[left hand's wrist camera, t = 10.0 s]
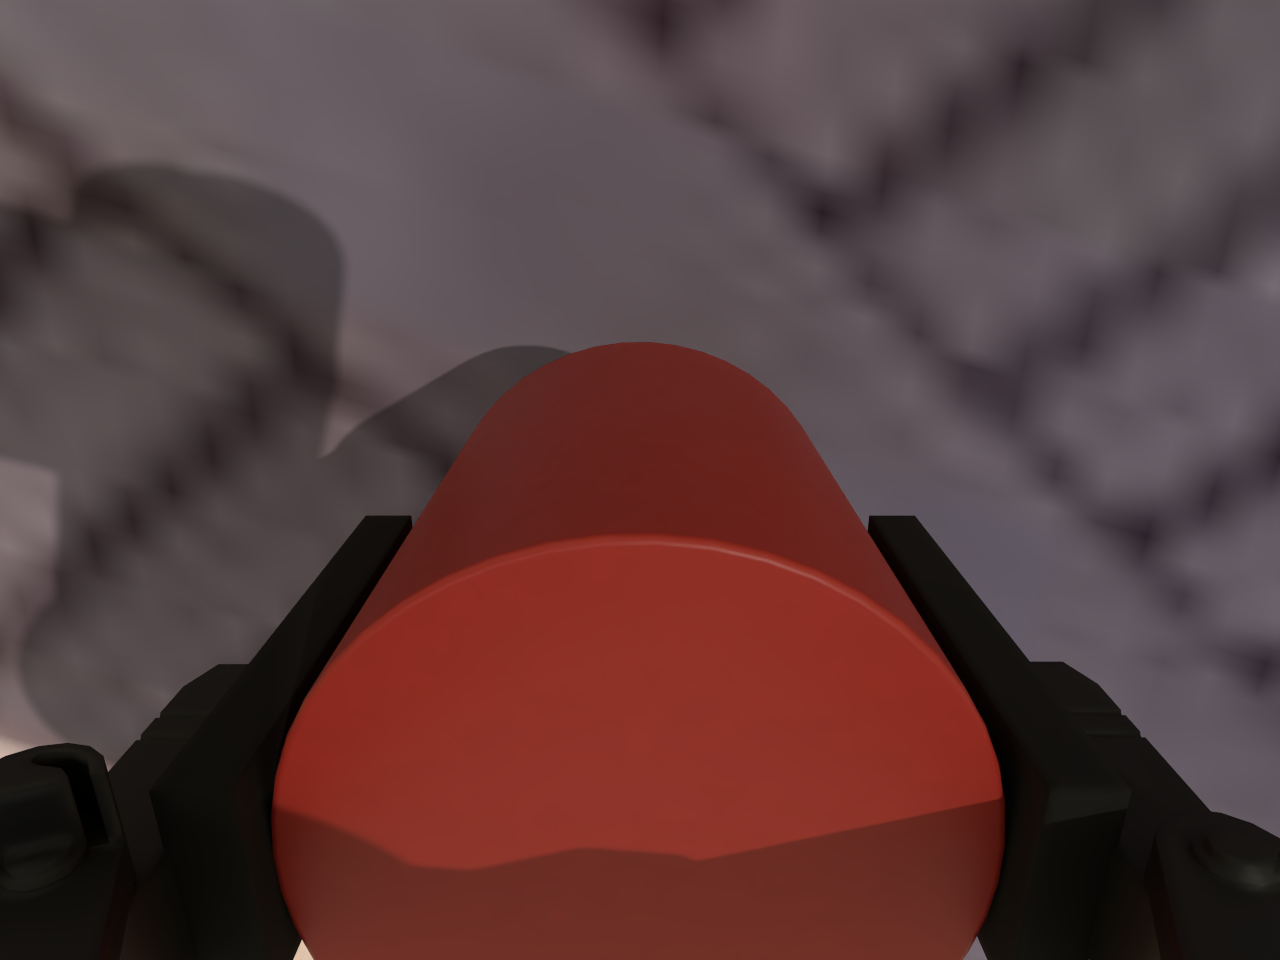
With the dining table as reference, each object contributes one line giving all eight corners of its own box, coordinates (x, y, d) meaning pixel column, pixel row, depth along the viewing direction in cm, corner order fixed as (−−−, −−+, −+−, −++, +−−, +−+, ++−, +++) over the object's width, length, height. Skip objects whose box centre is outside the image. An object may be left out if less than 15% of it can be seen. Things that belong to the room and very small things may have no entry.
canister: (385, 578, 17) (153, 951, 9) (575, 261, 15) (497, 373, 7) (690, 742, 19) (729, 1193, 10) (904, 474, 16) (1170, 781, 8)
